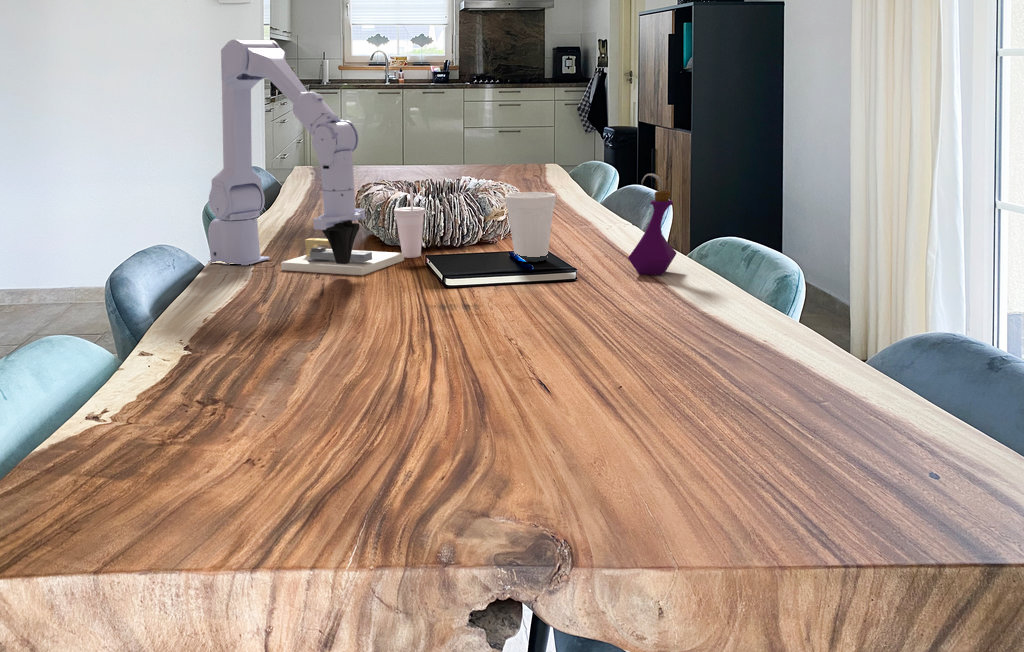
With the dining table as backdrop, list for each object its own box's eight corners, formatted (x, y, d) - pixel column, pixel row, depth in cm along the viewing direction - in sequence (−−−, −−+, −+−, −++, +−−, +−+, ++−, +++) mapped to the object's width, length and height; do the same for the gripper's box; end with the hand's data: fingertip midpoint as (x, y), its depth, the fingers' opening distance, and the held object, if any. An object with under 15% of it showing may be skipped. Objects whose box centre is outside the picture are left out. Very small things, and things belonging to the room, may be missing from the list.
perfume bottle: (676, 270, 186) (678, 171, 182) (669, 277, 179) (670, 176, 175) (636, 268, 189) (637, 171, 184) (627, 275, 182) (628, 175, 177)
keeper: (306, 256, 200) (304, 239, 199) (311, 254, 202) (310, 238, 201) (331, 257, 198) (330, 240, 197) (337, 255, 200) (336, 239, 199)
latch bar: (308, 258, 194) (307, 248, 194) (317, 256, 197) (316, 246, 196) (364, 262, 189) (363, 252, 189) (372, 259, 192) (371, 249, 192)
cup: (566, 259, 199) (565, 193, 196) (540, 268, 191) (539, 198, 188) (523, 255, 204) (522, 190, 201) (495, 263, 196) (494, 196, 193)
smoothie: (422, 259, 203) (419, 189, 199) (391, 258, 204) (388, 189, 201) (430, 253, 209) (428, 185, 205) (401, 253, 210) (398, 185, 207)
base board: (281, 270, 194) (280, 261, 194) (327, 256, 208) (326, 247, 208) (362, 275, 187) (361, 266, 187) (404, 260, 202) (403, 251, 201)
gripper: (335, 194, 175) (340, 271, 178) (377, 185, 188) (381, 257, 191) (301, 193, 178) (306, 269, 181) (345, 184, 191) (349, 255, 194)
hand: (342, 263), depth 186 cm, fingers closed
